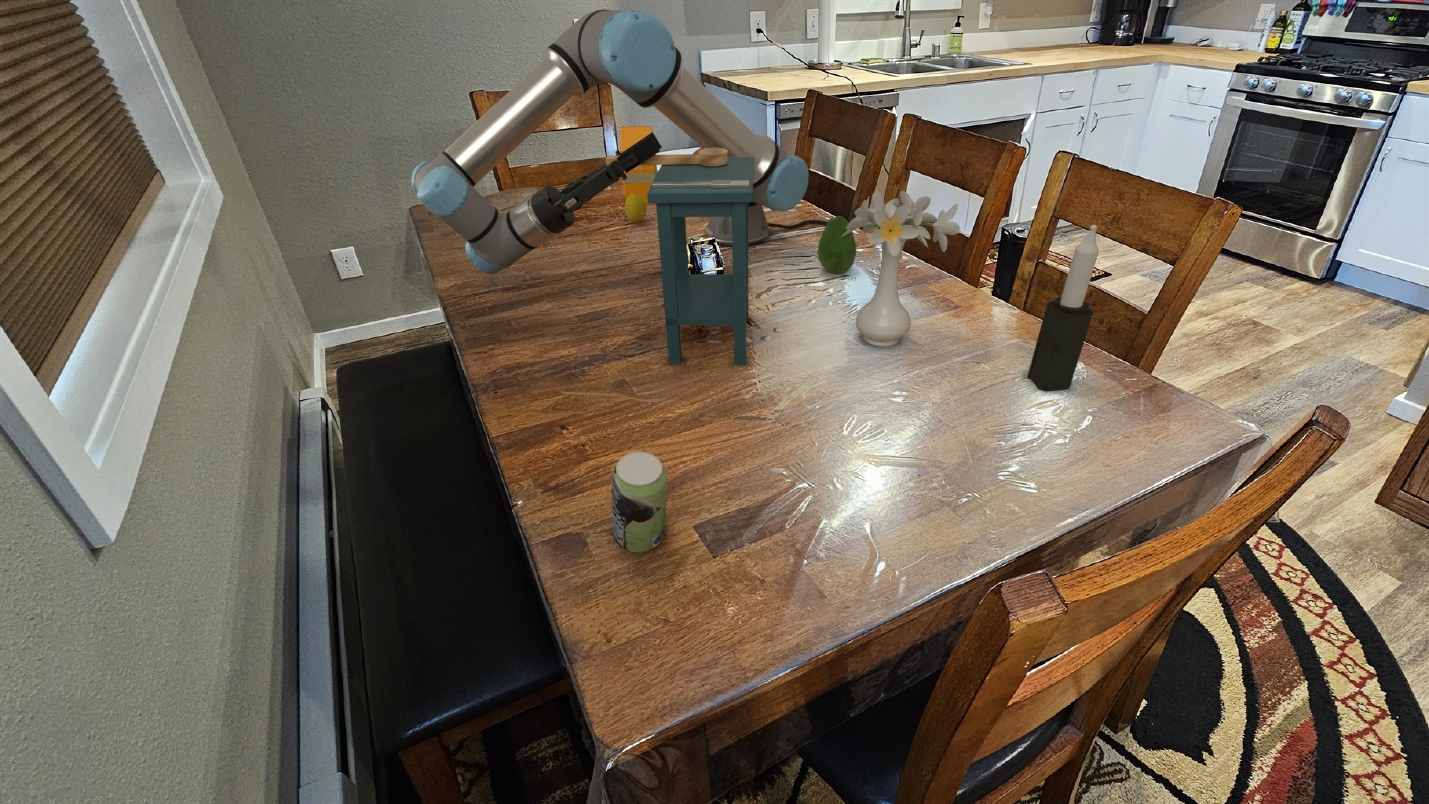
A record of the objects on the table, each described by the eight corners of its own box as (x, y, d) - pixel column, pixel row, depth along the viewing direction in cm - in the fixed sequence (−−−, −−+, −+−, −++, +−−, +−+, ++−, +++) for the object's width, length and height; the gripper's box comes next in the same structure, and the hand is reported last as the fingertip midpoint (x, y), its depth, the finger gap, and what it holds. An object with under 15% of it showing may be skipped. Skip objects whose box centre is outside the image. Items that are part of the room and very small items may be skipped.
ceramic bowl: (586, 210, 183) (583, 191, 180) (524, 236, 166) (520, 216, 163) (526, 198, 193) (523, 181, 190) (462, 222, 177) (458, 204, 174)
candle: (1024, 374, 105) (1066, 219, 91) (1055, 372, 105) (1101, 217, 91) (1040, 391, 100) (1086, 232, 87) (1072, 389, 101) (1124, 230, 87)
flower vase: (949, 344, 114) (977, 199, 100) (855, 364, 109) (870, 215, 95) (907, 313, 124) (927, 177, 110) (819, 330, 119) (828, 191, 105)
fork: (652, 189, 95) (651, 185, 95) (654, 184, 97) (654, 180, 97) (748, 188, 94) (748, 184, 94) (749, 183, 96) (749, 179, 96)
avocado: (831, 262, 146) (835, 208, 139) (861, 271, 141) (866, 216, 134) (808, 273, 141) (811, 218, 134) (838, 283, 136) (843, 226, 130)
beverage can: (636, 513, 81) (626, 435, 74) (684, 536, 77) (678, 457, 71) (602, 544, 77) (587, 465, 70) (650, 571, 73) (640, 490, 66)
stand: (662, 367, 110) (647, 193, 94) (676, 314, 127) (664, 158, 110) (752, 368, 109) (752, 191, 93) (754, 314, 125) (754, 156, 109)
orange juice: (657, 204, 185) (650, 128, 174) (625, 205, 185) (617, 129, 174) (659, 195, 191) (653, 122, 180) (629, 196, 192) (621, 123, 181)
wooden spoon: (604, 168, 106) (602, 156, 105) (610, 160, 110) (608, 149, 109) (727, 166, 104) (726, 154, 103) (728, 158, 108) (728, 147, 107)
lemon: (644, 227, 169) (641, 196, 164) (623, 227, 170) (620, 195, 165) (650, 220, 173) (647, 190, 169) (630, 220, 174) (627, 189, 170)
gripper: (568, 220, 121) (674, 151, 113) (546, 249, 109) (663, 174, 101) (542, 184, 118) (649, 111, 110) (516, 210, 105) (634, 130, 97)
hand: (655, 141), depth 105 cm, fingers closed on wooden spoon, 2 cm apart
